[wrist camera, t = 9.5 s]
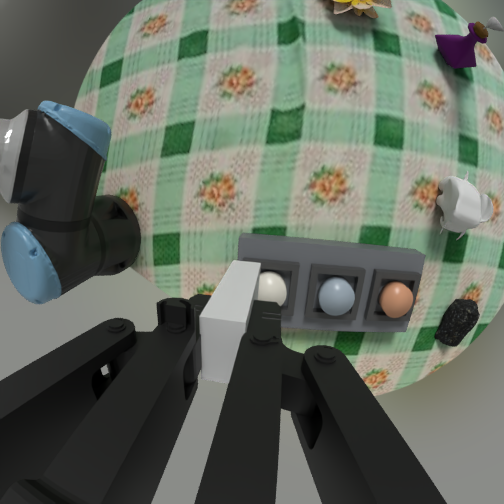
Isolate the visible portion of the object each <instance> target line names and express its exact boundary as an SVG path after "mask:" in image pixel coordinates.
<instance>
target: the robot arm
mask: <svg viewBox="0 0 504 504" xmlns="http://www.w3.org/2000/svg"><path fill="white" fill-rule="evenodd" d="M110 139H111V129H110V127H109V126H108V124H106V123H105V122H104V121H102V120H100V119H98V118H96V117H94V116H92V115H89V114H87V113H84V112H82V111H79V110H77V109H74V108H71V107H68V106H63V105H61V104H57V103H55V102H51V101H43V102H42V103H41V104H40V106H38V111H34V110H28V109H26V110H24V111H23V112H22V113H20V114H19V115H18V116H17V117H15V118H13V119H11V120H7V119H0V193H1V195H2V196H3V198H4V199H5V201H6V202H7V203H18V211H17V220H16V222H11V223H10V224H9V225H8V226H6V228H5V229H4V231H3V234H2V238H1V251H2V257H3V262H4V265H5V268H6V271H7V273H8V275H9V277H10V280H11V281H12V283H13V285H14V286H15V288H16V289H17V291H18V292H19V293H20V294H21V295H22V296H23V297H24V298H25V299H26V300H28V301H30V302H32V303H34V304H43V303H46V302H48V301H50V300H52V299H57V298H58V297H60V296H61V295H63V294H64V293H66V292H68V291H69V290H71V289H72V288H74V287H76V286H77V285H79V284H81V283H82V282H84V281H86V280H88V279H89V278H91V277H93V276H99V275H101V276H104V275H115V274H118V273H120V272H122V271H124V270H125V269H127V268H128V267H129V266H131V265H132V263H133V262H134V261H135V259H136V257H137V255H138V252H139V248H140V241H141V236H140V228H139V224H138V221H137V218H136V216H135V214H134V212H133V210H132V209H131V208H130V206H129V205H128V204H127V203H126V202H125V201H123V200H122V199H121V198H119V197H116V196H113V195H101V196H96V193H97V189H98V185H99V181H100V177H101V173H102V170H103V166H104V163H105V161H106V160H107V156H106V154H107V150H108V147H109V143H110ZM260 268H261V263H257V262H247V261H237V260H233V262H232V263H231V265H230V266H229V268H228V270H227V271H226V273H225V275H224V276H223V278H222V280H221V281H220V283H219V285H218V286H217V288H216V290H215V291H214V293H213V295H212V296H210V295H203V294H197V295H195V296H193V297H191V298H190V299H189V300H188V299H183V298H167V299H163V300H161V301H159V302H157V314H158V315H157V316H158V326H157V327H156V328H155V329H154V331H153V332H136V331H135V326H134V324H133V322H131V321H130V320H127V319H123V318H114V319H110V320H107V321H104V322H103V323H101V324H99V325H97V326H95V327H94V328H92V329H90V330H88V331H87V332H85V333H83V334H81V335H80V336H78V337H76V338H74V339H72V340H71V341H69V342H67V343H65V344H63V345H62V346H60V347H58V348H56V349H55V350H53V351H51V352H50V353H48V354H46V355H44V356H42V357H41V358H39V359H37V360H36V361H34V362H32V363H30V364H29V365H27V366H25V367H24V368H22V369H20V370H18V371H16V372H15V373H13V374H11V375H10V376H8V377H6V378H5V379H3V380H1V381H0V504H151V502H152V500H153V498H154V495H155V492H156V490H157V488H158V485H159V483H160V480H161V478H162V475H163V473H164V470H165V468H166V465H167V463H168V460H169V458H170V455H171V452H172V450H173V448H174V445H175V443H176V440H177V438H178V435H179V433H180V430H181V428H182V425H183V423H184V420H185V418H186V415H187V413H188V410H189V408H190V405H191V403H192V400H193V398H194V395H195V393H196V390H197V388H198V379H197V378H198V374H199V372H200V370H201V379H204V380H210V381H216V382H222V383H229V384H228V388H227V391H226V395H225V399H224V402H223V406H222V410H221V413H220V417H219V420H218V424H217V427H216V431H215V434H214V438H213V441H212V445H211V448H210V452H209V455H208V459H207V462H206V466H205V469H204V473H203V476H202V480H201V483H200V486H199V490H198V493H197V497H196V500H195V504H275V499H276V484H277V470H278V455H279V435H280V414H281V413H280V412H281V409H284V410H288V411H291V417H292V420H293V423H294V425H295V428H296V431H297V434H298V437H299V440H300V443H301V446H302V448H303V451H304V454H305V457H306V460H307V463H308V465H309V468H310V471H311V474H312V477H313V479H314V482H315V485H316V488H317V490H318V493H319V496H320V499H321V502H322V504H447V503H446V502H445V500H444V498H443V497H442V495H441V494H440V492H439V491H438V489H437V488H436V486H435V485H434V483H433V482H432V480H431V479H430V477H429V476H428V474H427V473H426V471H425V470H424V468H423V467H422V465H421V464H420V462H419V461H418V459H417V458H416V456H415V455H414V453H413V452H412V450H411V449H410V448H409V446H408V445H407V443H406V442H405V440H404V439H403V437H402V436H401V434H400V433H399V432H398V430H397V429H396V427H395V426H394V424H393V423H392V421H391V420H390V419H389V417H388V416H387V414H386V413H385V411H384V410H383V408H382V407H381V406H380V404H379V403H378V401H377V400H376V398H375V397H374V396H373V394H372V393H371V391H370V390H369V388H368V387H367V386H366V384H365V383H364V381H363V380H362V378H361V377H360V376H359V374H358V373H357V371H356V370H355V369H354V367H353V366H352V364H351V363H350V362H349V360H348V359H347V357H346V356H345V355H344V354H343V353H342V352H341V351H340V350H338V349H336V348H334V347H331V346H326V345H317V346H313V347H310V348H309V349H307V350H306V351H305V353H304V354H303V353H299V352H296V351H293V350H291V349H289V348H287V347H286V346H285V345H284V344H283V343H282V339H281V307H280V306H279V304H278V303H277V302H271V301H261V300H258V291H259V280H260ZM106 364H107V368H108V371H109V373H107V374H106V375H102V372H101V368H102V367H103V366H105V365H106Z"/></svg>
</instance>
